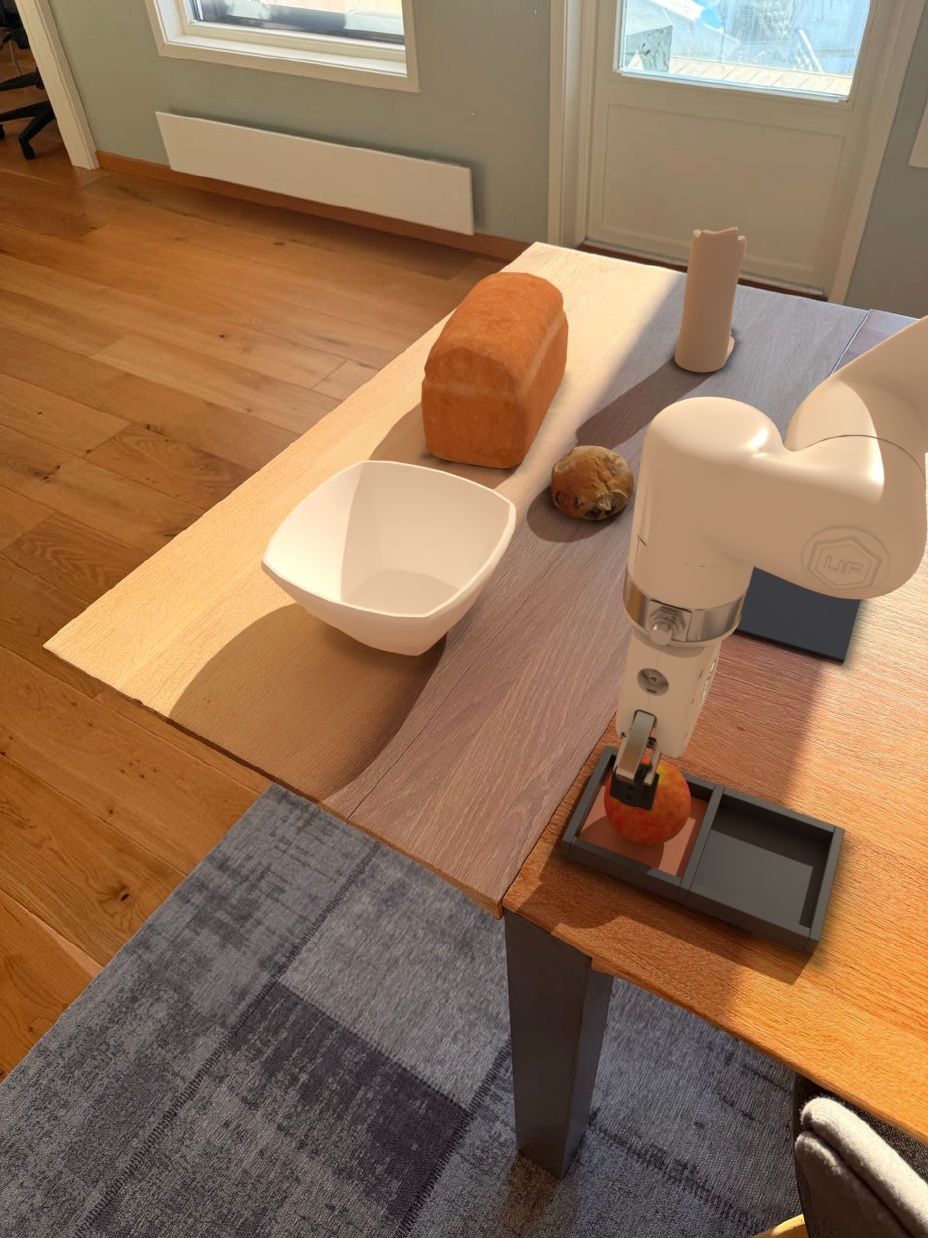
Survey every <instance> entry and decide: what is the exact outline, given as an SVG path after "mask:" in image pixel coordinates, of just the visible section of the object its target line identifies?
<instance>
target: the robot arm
mask: <svg viewBox="0 0 928 1238" xmlns="http://www.w3.org/2000/svg"><path fill="white" fill-rule="evenodd" d="M927 453H928V314H927V315H926V316H923V317H921V318H920V319H918V320H916V321H914V322H912V323H911V324H909V325H907V326H905V327H903V328H902V329H901V330H899V331H897V332H896V333H894V334H892V335H890V336H889V337H887V338H886V339H885V340H882V341H881V342H880V343H878V344H876V345H875V346H873V347H871V348H870V349H868V350H867V351H865V352H863V353H862V354H860V355H859V356H857V357H856V358H854V359H853V360H851V361H850V362H848V363H847V364H845V365H843V366H842V367H841V368H839V369H838V370H836V371H835V372H833V373H832V374H831V375H830V376H828V377H827V378H825V379H824V380H823V381H822V382H821V383H819V384H818V385H817V386H816V387H815V388H814V389H813V390H812V391H811V392H810V393H809V394H808V395H807V396H806V397H805V398H804V399H803V400H802V401H801V403H800V404H799V406H798V407H797V408H796V410H795V411H794V413H793V415H792V417H791V419H790V421H789V424H788V426H787V429H786V433H785V437H784V442H783V439H782V436H781V433H780V432H779V430H778V428H777V425H776V424H775V423H774V421H773V420H771V418H770V417H769V416H767V415H766V414H765V413H763V412H762V411H760V409H757V408H756V407H753V406H752V405H751V404H747V403H746V402H743V401H739V400H736V399H731V398H727V397H719V396H695V397H691V398H685V399H681V400H680V401H677V402H675V403H671V404H669V405H667V407H664V408H663V409H662V410H661V411H660V412H659V413H657V414H656V415H655V416H654V418H653V419H652V420H651V422H650V423H649V424H648V427H647V428H646V431H645V433H644V438H643V442H642V446H641V455H640V460H639V461H640V462H639V467H638V477H637V483H636V490H635V498H634V507H633V513H632V521H631V523H632V524H631V531H630V538H629V544H628V552H627V560H626V566H625V572H624V573H625V574H624V581H623V587H622V588H623V589H622V597H621V607H622V611H623V613H624V615H625V618H626V620H627V621H628V622H629V624H630V625H631V626H632V627H631V632H630V633H631V634H630V639H629V643H628V648H627V649H626V657H625V661H624V667H623V672H622V678H621V681H620V688H619V694H618V700H617V707H616V712H615V713H616V715H615V733H616V735H617V736H618V738H619V739H620V740H621V743H620V746H619V748H618V749H619V752H618V755H617V759H616V760H615V762H614V765H613V772H612V778H611V785H610V792H609V794H610V796H611V797H613V798H615V799H617V800H619V801H620V802H621V803H623V804H625V805H628V806H631V807H639V808H641V809H644V810H647V811H650V810H651V809H652V806H653V804H654V799H655V795H656V790H657V785H658V781H659V776H660V775H659V774H657V773H656V771H657V768H658V764H659V761H660V759H661V758H662V755H663V756H666V757H669V758H672V759H676V758H678V757H680V756H682V755H683V754H684V753H685V751H686V749H687V747H688V745H689V742H690V740H691V739H692V735H693V733H694V730H695V728H696V726H697V723H698V720H699V718H700V715H701V713H702V710H703V708H704V705H705V703H706V700H707V697H708V695H709V692H710V689H711V687H712V684H713V681H714V678H715V675H716V672H717V668H718V664H719V663H718V662H719V658H720V652H721V647H722V643H723V641H724V640H726V639H727V638H728V637H729V636H731V635H732V634H733V633H734V632H735V631H734V630H735V629H736V628H737V626H738V624H739V621H740V618H741V613H742V610H743V606H744V602H745V599H746V595H747V591H748V588H749V584H750V579H751V575H752V571H753V568H754V567H756V568H759V569H761V570H763V571H766V572H768V573H771V574H773V575H775V576H778V577H780V578H782V579H784V580H787V581H789V582H792V583H794V584H796V585H799V586H801V587H804V588H806V589H809V590H812V591H815V592H818V593H821V594H825V595H829V596H833V597H838V598H846V599H861V600H869V599H875V598H879V597H882V596H883V597H884V596H886V595H888V594H890V593H893V592H895V591H896V590H899V589H900V588H901V587H902V586H903V585H906V583H907V582H909V581H910V580H911V579H912V577H913V576H914V575H915V574H916V572H917V571H918V569H919V567H920V566H921V562H922V561H923V558H924V555H925V551H926V545H927V540H928V513H927V512H928V511H927V469H926V467H927V466H926V454H927ZM654 728H655V729H654ZM653 731H654V733H653ZM652 733H653V734H654V735H653V736H652ZM647 749H650V750H652V753H651V755H650V757H651V759H650V763H649V766H648V765H645V764H642V763H641V761H642V759H643V757H644V755H645V752H646V750H647Z"/></svg>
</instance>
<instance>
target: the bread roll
mask: <svg viewBox="0 0 928 1238" xmlns="http://www.w3.org/2000/svg"><path fill="white" fill-rule="evenodd" d="M550 474H551V475H550V476H551V479H550V480H551V481H550V487H551V489H550V490H551V491H550V492H551V496H552V501H553V504H554V506H556V508H557V509H558V510H559V511H561V512H562V513H563V514H564V515H566V516H568V517H571V518H574V519H579V520H587V521H593V520H597V521H601V520H603V519H606V518H609V517H611V516H613V515H615V514H617V513H618V512H620V511H621V510H622V509H624V507H625V506H626V505H627V504H628V503H629V502H630V501H631V500H632V497H633V493H634V485H635V481H634V473H633V470H632V467H631V465H630V464H629V463H628V461H627V460H626V459H625V458H623V456H621V455H620V454H618V453H617V452H615V451H613V450H611V449H608V448H606V447H604V446H599V445H578V446H576V447H573V448H571V449H570V450H568V451H567V452H565V453H564V454H562V456H561V457H560V458H559V459H557V461H556V462H555V463H554V464H553V466H552V468H551V473H550Z"/></svg>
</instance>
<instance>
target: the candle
mask: <svg viewBox="0 0 928 1238" xmlns="http://www.w3.org/2000/svg"><path fill="white" fill-rule="evenodd" d="M690 243H691V244H690V251H689V252H690V253H689V257H688V265H687V269H686V270H687V271H686V278H685V284H684V293H683V294H684V295H683V303H682V315H681V322H680V327H679V333H678V338H677V342H676V343H677V344H676V347H675V354H674V361H675V364H677V366H679V367H680V368H682V369H684V370H687V371H689V372H695V373H711V372H712V373H713V372H715V371H719V370H720V369H722V368H723V367H724V366H726V363H727V360H728V359H729V357H730V355H731V354H732V352H733V350H734V347H735V343H736V341H735V339H734V337H733V336H732V331H731V330H732V324H733V323H732V322H733V314H734V313H733V312H734V305H735V304H734V303H735V298H736V292H737V287H738V282H739V278H740V274H741V271H742V267H743V262H744V259H745V254H746V251H747V239H746V236H745V235H739V228H738V227H737V226H731V227H728V228H725V229H722V230H718V231H712V230H709V229H703V230H701V229H697V228H696V229H693V232H692V235H691V242H690Z"/></svg>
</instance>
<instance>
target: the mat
mask: <svg viewBox="0 0 928 1238" xmlns="http://www.w3.org/2000/svg"><path fill="white" fill-rule="evenodd" d="M861 600H862V599H846V598H838V597H833V596H829V595H825V594H821V593H818V592H815V591H812V590H809V589H806V588H804V587H801V586H799V585H796V584H794V583H792V582H789V581H787V580H784V579H782V578H780V577H778V576H775V575H773V574H771V573H768V572H766V571H763V570H761V569H759V568H756V567H754V568H753V571H752V575H751V579H750V584H749V588H748V591H747V595H746V599H745V602H744V606H743V610H742V613H741V618H740V621H739V624H738V626H737V628H736V629H735V630H734V631H733V632H738V633H741V634H745V635H748V636H750V637H751V636H752V637H754V638H758V639H762V640H765V641H769V642H772V643H775V644H779V645H782V646H786V647H788V648H792V649H795V650H799V651H803V652H805V653H809V654H813V655H816V656H820V657H823V658H826V659H830V660H833V661H837V662H840V663H845V660H846V656H847V653H848V649H849V645H850V641H851V637H852V634H853V630H854V626H855V624H856V618H857V615H858V612H859V608H860V605H861Z"/></svg>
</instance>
